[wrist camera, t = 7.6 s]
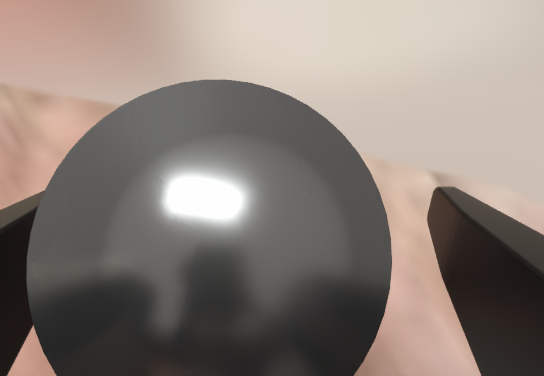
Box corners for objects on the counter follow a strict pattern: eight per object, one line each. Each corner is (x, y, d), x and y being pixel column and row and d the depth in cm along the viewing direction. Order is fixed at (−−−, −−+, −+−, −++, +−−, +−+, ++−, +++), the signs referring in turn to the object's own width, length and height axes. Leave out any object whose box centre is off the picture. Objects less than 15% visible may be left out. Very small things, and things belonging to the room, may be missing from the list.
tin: (334, 277, 16) (471, 306, 4) (251, 332, 16) (133, 543, 4) (280, 197, 17) (262, 21, 5) (201, 248, 17) (-30, 195, 5)
